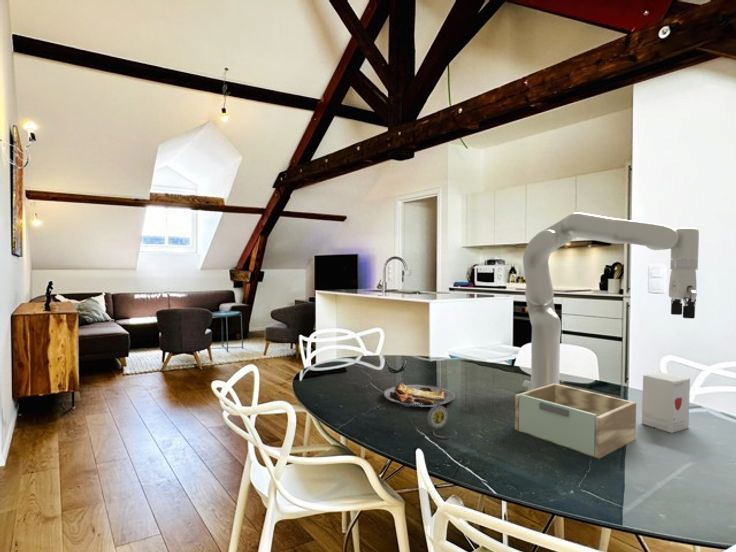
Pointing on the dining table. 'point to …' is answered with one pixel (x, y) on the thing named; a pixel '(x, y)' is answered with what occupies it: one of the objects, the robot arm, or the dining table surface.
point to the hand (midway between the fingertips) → (682, 316)
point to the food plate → (418, 395)
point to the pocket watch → (436, 413)
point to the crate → (611, 413)
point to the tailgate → (558, 423)
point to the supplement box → (666, 401)
